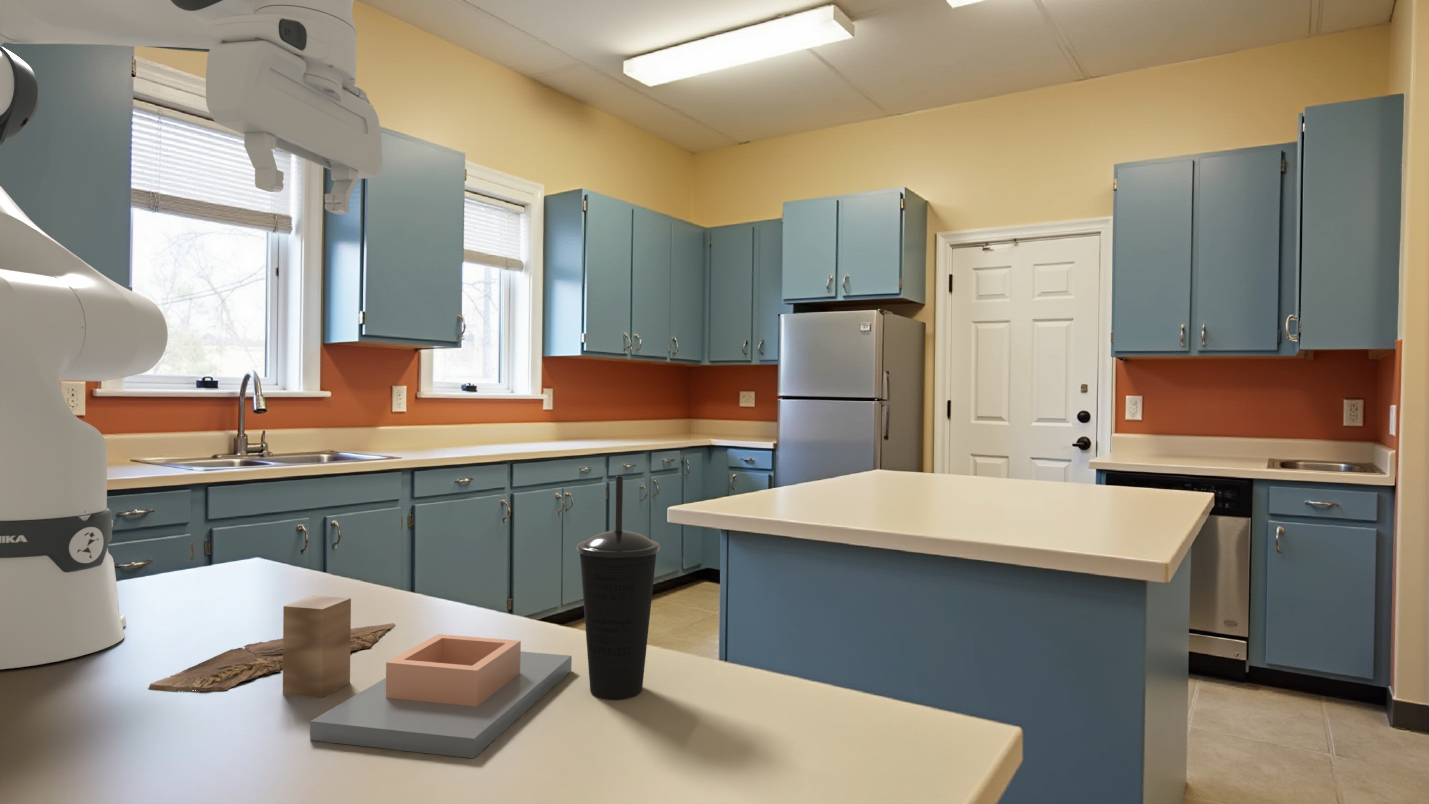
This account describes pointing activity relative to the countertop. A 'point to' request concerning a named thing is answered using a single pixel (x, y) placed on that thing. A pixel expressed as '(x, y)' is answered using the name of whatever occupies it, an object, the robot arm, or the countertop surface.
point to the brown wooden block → (316, 646)
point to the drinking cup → (617, 605)
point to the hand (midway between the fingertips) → (305, 202)
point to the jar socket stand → (445, 697)
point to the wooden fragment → (250, 663)
